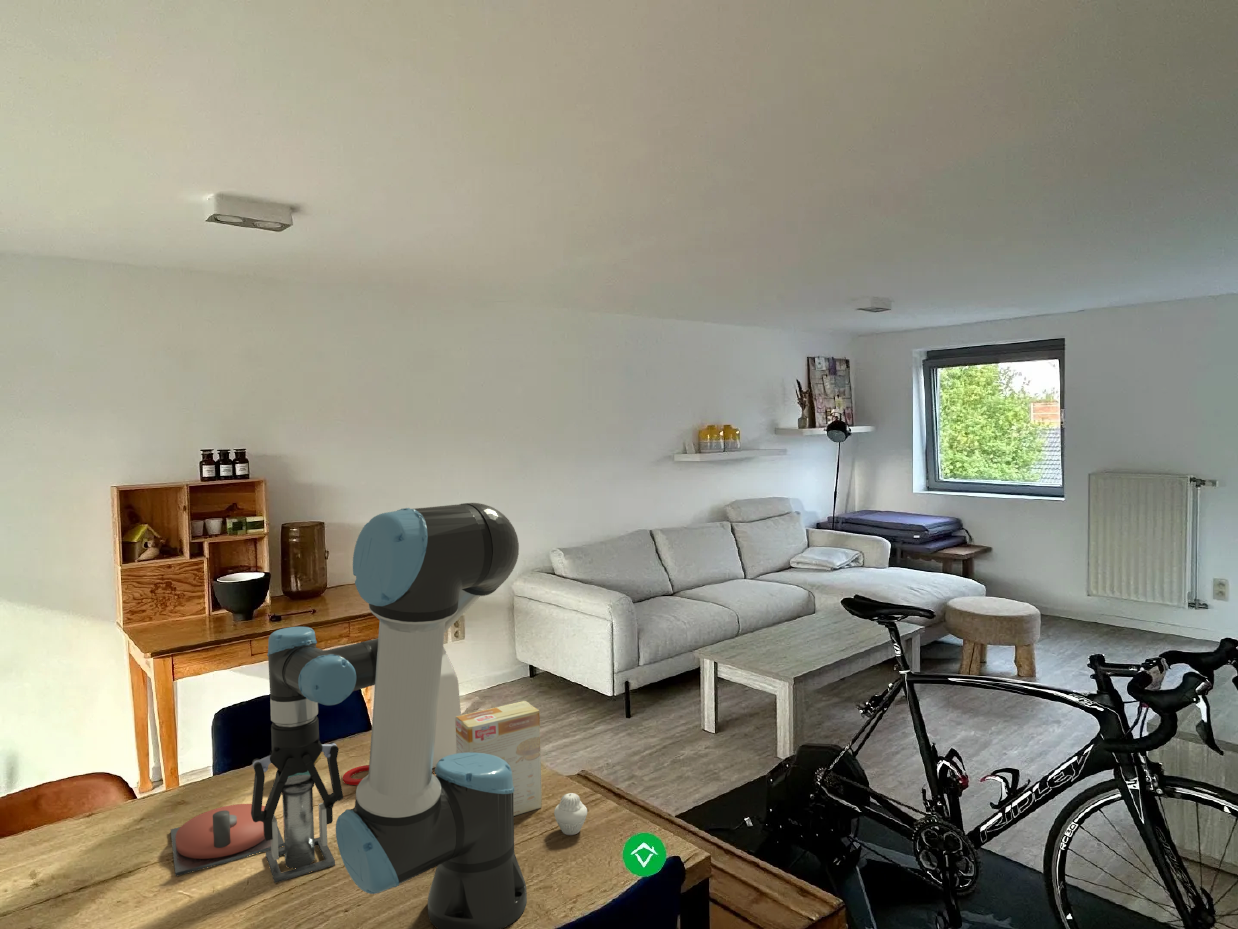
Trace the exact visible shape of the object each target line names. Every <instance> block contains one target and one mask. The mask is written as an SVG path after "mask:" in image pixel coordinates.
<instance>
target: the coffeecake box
mask: <svg viewBox="0 0 1238 929" xmlns="http://www.w3.org/2000/svg"><path fill="white" fill-rule="evenodd" d="M540 717H541V716H540V709H538V708H537V707H535V706H533V705H532V704H530V702H528V701H526V700H522V701H517V702H514V703H508V704H504V705H501V706H496V707H491V708H487V709H486V708H485V709H482V710H479V711H474V712H469V713H466V714H461V715H460V716H456V717H455V718H456V753H468V752H474V753H485V754H490V755H494V756H497V757H499V758H501V759H503V760H505V761H506V762H507V763H508V764H509V766H510V768H511V770H512V779H513V787H514V792H513V815H514V816H519V815H522V814H525V813H528V812H532V811H536V810H538V809H541V808H542V807H543V803H542V802H543V799H542V798H543V795H542V794H543V792H542V791H543V790H542V762H541V761H542V756H541V753H542V752H541V724H540V723H541V722H540V720H541V719H540Z"/></svg>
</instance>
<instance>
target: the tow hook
mask: <svg viewBox="0 0 1238 929" xmlns="http://www.w3.org/2000/svg"><path fill="white" fill-rule="evenodd" d="M363 772H369V764H366V765H360V766H356V767H354V768H352V769H349V770H347V771H346V772H345V773H344V774H343V775H342V782H343V781H344V782H345V783H344V782H343V783H344V784H345V785H348V784H349V786H358V784H359V783H360V781H361V780H362V779H363V778H364V777H363V778H353V776H354V775H356V774H358V773H363ZM355 773H356V774H355ZM353 774H354V775H353Z"/></svg>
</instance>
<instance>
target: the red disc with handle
mask: <svg viewBox="0 0 1238 929" xmlns="http://www.w3.org/2000/svg"><path fill="white" fill-rule="evenodd" d="M265 806H266V805H262V810H261V811H264V808H265ZM251 808H252V803H239V804H230V805H225V806H221V807H217V808H214V809H209V810H207V811H205V812H203V813H201V814H198V815H196V816H194V817H192V818H190V819H188V820H187V821H185V822H184V823H183V824H182V825H181V826H179V827H180V828H179V830H178V831H177V833H176V849H177V851H178V852H179V853H180V854H181V855H183V856H186V857H189V858H195V859H210V858H218V857H223V856H228V855H232V854H235V853H238V852H241V851H244V850H246V849H249V848H251V847H253V846H255V845H257V844H258V843H260V842H261V841H263V840H264V839H265V837H264V828H263V822H261V821H258V822H254V821H253V819H252V816H251Z"/></svg>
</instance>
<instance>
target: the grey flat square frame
mask: <svg viewBox="0 0 1238 929" xmlns="http://www.w3.org/2000/svg"><path fill="white" fill-rule="evenodd" d="M314 845H315V847H318V849H319V852H320V853H322V854H321V856H322V855H323V856H322V858H323V860H321V861H317V862H312V863H311V864H309V865H306V866H302V867H299V868H296V869H290V870H286V871H283V872H282V871H281V869H280V866H279V863H278V861H277V860H278V859H277V860H274V859H273V856H272V853H271V850H270V851H266V852H265V858H267V859H266V861H268V862H267V865H268V867H270V868H269V871H270V873H271V877H272V880H273V883H274V884H277V883H281V882H283V881H286V880H290V879H293V878H297V877H300V876H304V875H307V874H310V873H309V872H311V871H314V872H318V871H321V870H323V869H328V868H330V867H329V866H331V867H333V865H334V866H336V860H335V858H334V856H333V853H332V851H331V849H330V848H329V845H328V844H327V846H322V843H321V841H320V836H318V837H314ZM278 854H279V857H280V855H282V856H285V855H284V854H285V850H284V847H281V848H278ZM327 867H328V868H327ZM320 869H321V870H320ZM306 873H307V874H306ZM311 873H312V872H311Z"/></svg>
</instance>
